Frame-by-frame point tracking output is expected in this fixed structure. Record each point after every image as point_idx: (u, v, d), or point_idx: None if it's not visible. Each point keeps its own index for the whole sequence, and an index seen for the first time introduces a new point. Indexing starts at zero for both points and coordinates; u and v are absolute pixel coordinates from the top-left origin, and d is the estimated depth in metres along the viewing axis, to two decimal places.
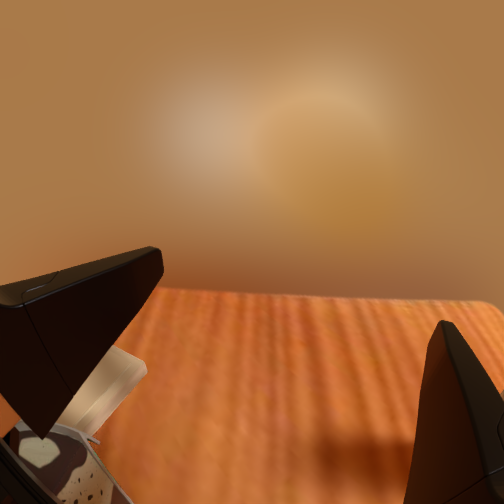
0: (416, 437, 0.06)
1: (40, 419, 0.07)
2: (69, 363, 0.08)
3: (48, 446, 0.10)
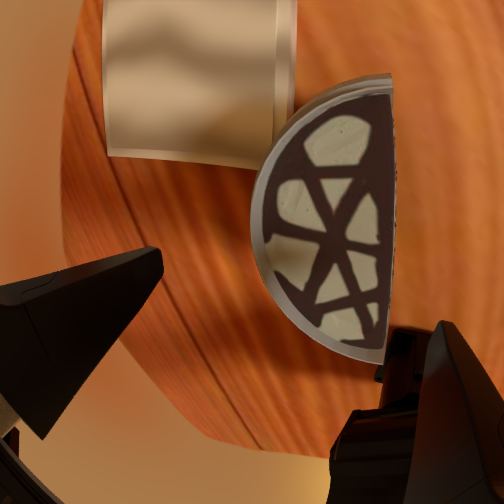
0: (416, 437, 0.06)
1: (40, 419, 0.07)
2: (69, 363, 0.08)
3: (348, 126, 0.10)
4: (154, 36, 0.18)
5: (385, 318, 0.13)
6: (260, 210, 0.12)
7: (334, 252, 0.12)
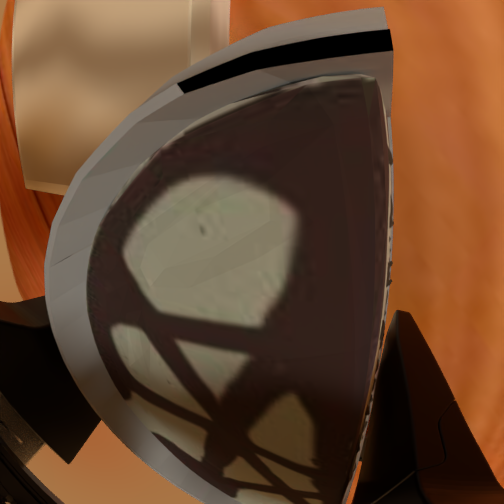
0: (369, 428, 0.07)
1: (67, 443, 0.06)
2: None
3: (219, 214, 0.03)
4: (52, 35, 0.11)
5: None
6: (94, 361, 0.06)
7: (234, 446, 0.05)
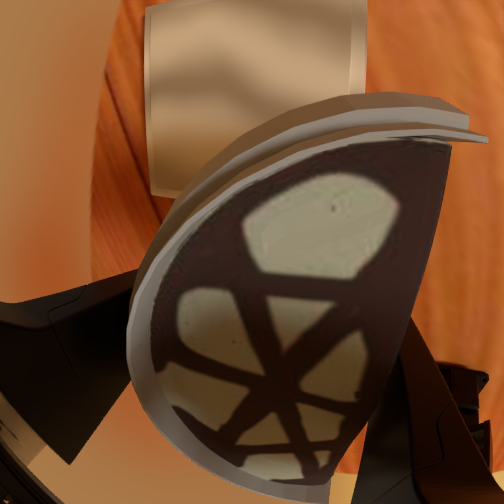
0: (367, 428, 0.07)
1: (68, 444, 0.06)
2: (100, 384, 0.07)
3: (350, 200, 0.05)
4: (210, 73, 0.19)
5: (337, 462, 0.08)
6: (146, 330, 0.06)
7: (274, 400, 0.07)
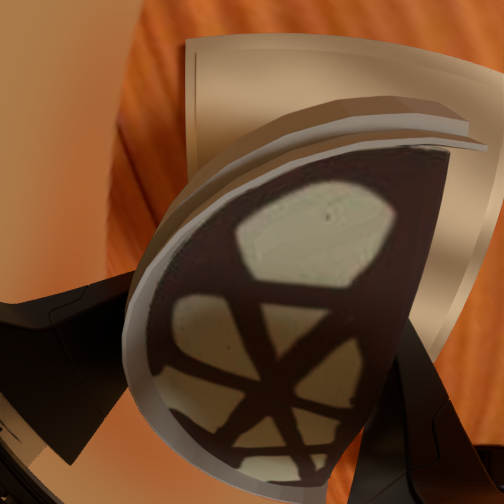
0: (364, 427, 0.07)
1: (69, 445, 0.06)
2: (101, 385, 0.07)
3: (345, 208, 0.05)
4: None
5: (334, 465, 0.08)
6: (141, 335, 0.06)
7: (269, 405, 0.07)
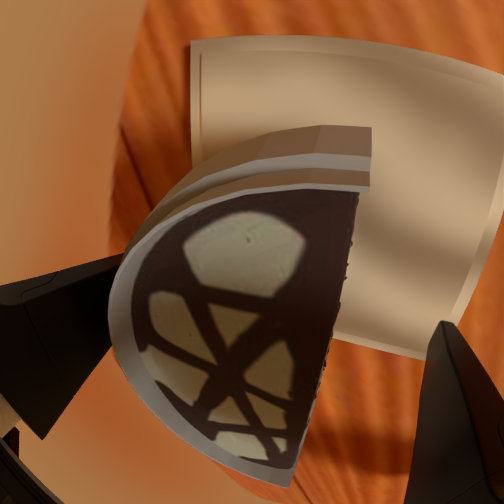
0: (416, 437, 0.06)
1: (40, 419, 0.07)
2: (69, 363, 0.08)
3: (261, 234, 0.06)
4: None
5: (295, 450, 0.09)
6: (127, 319, 0.08)
7: (228, 386, 0.08)
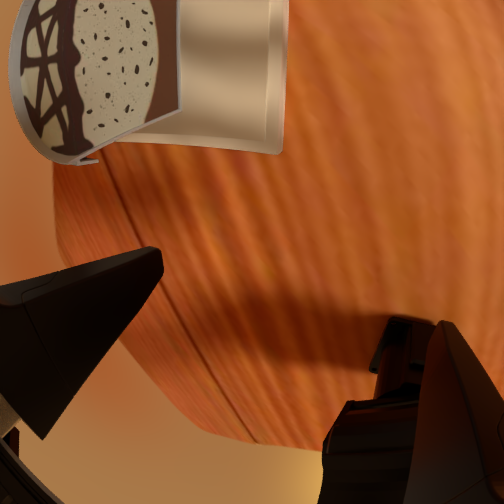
0: (416, 437, 0.06)
1: (40, 419, 0.07)
2: (69, 363, 0.08)
3: None
4: None
5: (72, 120, 0.12)
6: (18, 53, 0.11)
7: (44, 69, 0.11)
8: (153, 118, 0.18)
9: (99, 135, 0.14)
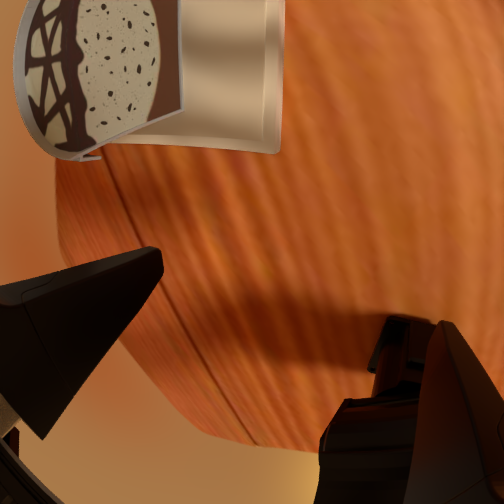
0: (416, 437, 0.06)
1: (40, 419, 0.07)
2: (69, 363, 0.08)
3: None
4: None
5: (75, 116, 0.13)
6: (22, 53, 0.12)
7: (48, 68, 0.12)
8: (155, 117, 0.18)
9: (102, 132, 0.14)
